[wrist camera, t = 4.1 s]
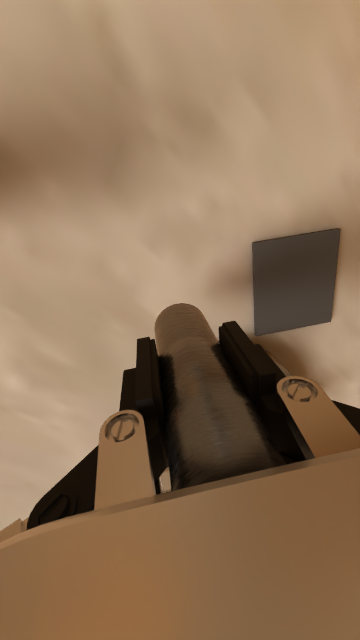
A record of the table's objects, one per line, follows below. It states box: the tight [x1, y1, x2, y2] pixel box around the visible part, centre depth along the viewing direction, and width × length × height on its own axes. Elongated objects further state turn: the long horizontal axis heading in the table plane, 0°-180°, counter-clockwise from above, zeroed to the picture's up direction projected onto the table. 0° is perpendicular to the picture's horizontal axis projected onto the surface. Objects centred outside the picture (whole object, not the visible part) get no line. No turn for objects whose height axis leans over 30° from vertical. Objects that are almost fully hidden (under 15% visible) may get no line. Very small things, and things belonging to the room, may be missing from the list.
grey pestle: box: [155, 303, 286, 491], centre depth 10 cm, size 3×3×10 cm
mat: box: [252, 228, 341, 336], centre depth 21 cm, size 8×7×1 cm
